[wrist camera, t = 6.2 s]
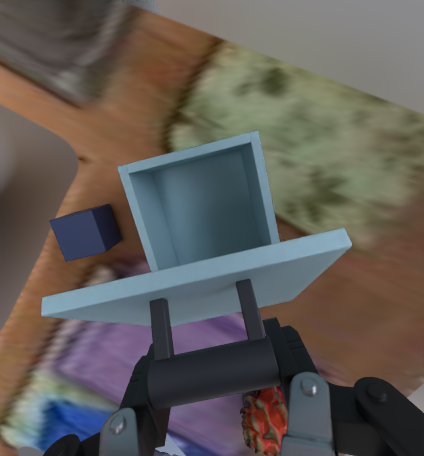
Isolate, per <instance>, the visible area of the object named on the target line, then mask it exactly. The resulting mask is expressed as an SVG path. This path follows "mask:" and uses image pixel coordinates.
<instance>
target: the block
mask: <svg viewBox="0 0 424 456" xmlns="http://www.w3.org/2000/svg"><path fill="white" fill-rule="evenodd" d="M50 224H51V226H52V229H53V231H54V234H55V236H56V239H57V241H58V244H59V246H60V249H61V251H62V254H63V256H64V259H65V261H66V262H67V261H71V260H75V259H79V258H83V257H88V256H92V255H96V254H100V253H104V252H107V251H108V250H109V249H111V248H112V247H113V246H115V245H116V244H117V243H118V242H120V241H121V237H120V234H119V231H118V228H117V225H116V222H115V219H114V216H113V213H112V210H111V208H110V205H109V204H106V205H102V206H99V207H95V208H91V209H87V210H83V211H79V212H75V213H71V214H68V215H65V216H62V217H59V218H56V219H53V220H50Z"/></svg>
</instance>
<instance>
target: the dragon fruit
mask: <svg viewBox="0 0 424 456" xmlns="http://www.w3.org/2000/svg"><path fill="white" fill-rule="evenodd" d="M259 392H260V389H259V390H256V395H255V397H254V398H253V397H252V396H246V397H245V398H244V399H243V401H244V405H245V399H246V400H248V401H249V402H250V403H251V407H249V406H248V407H244V408H242V409H241V411H240V414H241V412H242V413H243V415H242V418H243V421H242V427H243V430H244V431H243V435H244V440H245V445H247V446H248V447H249V448H251V449H253V448H254V447H255V453H257V454H262V453H264V454H265V455H267V456H269V455H270V453H272V454H273V455H274V456H280V447H281V439H282V435H283V434H286V430H287V419H288V412H287V408H286V405H285V402H284V399H283V395H282V392H281V389H280V387H277V386H274V387H271V388H270V389H268V388H264V389H261V394H260V395H259ZM258 395H259V396H258Z"/></svg>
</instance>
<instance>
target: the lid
mask: <svg viewBox="0 0 424 456" xmlns="http://www.w3.org/2000/svg"><path fill="white" fill-rule="evenodd" d="M351 246H352V243H351V241H350V239H349V237H348V234H347V232H346V230H345V228H340V229H336V230H331V231H327V232H323V233H318V234H314V235H310V236H305V237H301V238H297V239H292V240H288V241H284V242H279V243H275V244H271V245H267V246H262V247H258V248H254V249H249V250H245V251H241V252H236V253H232V254H228V255H223V256H219V257H215V258H210V259H206V260H202V261H197V262H193V263H189V264H184V265H180V266H176V267H171V268H167V269H163V270H158V271H154V272H150V273H145V274H141V275H137V276H132V277H128V278H124V279H120V280H115V281H111V282H107V283H102V284H98V285H94V286H89V287H85V288H81V289H76V290H72V291H68V292H63V293H59V294H55V295H50V296H46V297H43V298H42V307H41V316H44V317H55V318H66V319H77V320H88V321H99V322H111V323H122V324H133V325H144V326H151V327H152V338H153V349H154V360H152V361H151V363H150V365H149V369H148V376H147V387H148V395H149V399H150V403H151V405H152V407H153V408H154V409H156V410H158V409H163V408H168V407H173V406H178V405H183V404H188V403H193V402H198V401H203V400H208V399H214V398H219V397H224V396H229V395H234V394H239V393H244V392H249V391H254V390H259V389H264V388H269V387H274V386H280V385H281V378H280V373H279V369H278V365H277V361H276V358H275V354H274V350H273V347H272V344H271V341H270V338H269V336H265V333H264V329H263V325H262V322H261V318H260V314H259V310H258V308H260V307H264V306H269V305H273V304H278V303H283V302H287V301H292V300H293V299H294V298H295V297H296V296H297V295H298V294H300V293H301V292H302V291H303V290H304V289H305V288H306V287H307V286H308V285H309V284H311V283H312V282H313V281H314V280H315V279H316V278H317V277H318V276H319V275H320V274H322V273H323V272H324V271H325V270H326V269H327V268H328V267H329V266H330V265H331V264H333V263H334V262H335V261H336V260H337V259H338V258H339V257H340V256H341V255H342V254H343V253H345V252H346V251H347V250H348V249H349V248H350V247H351ZM241 311H242V314H243V319H244V323H245V327H246V332H247V336H248V340H243V341H238V342H234V343H229V344H224V345H219V346H215V347H210V348H205V349H200V350H196V351H191V352H186V353H181V354H176V355H174V349H173V341H172V332H171V327H172V326H176V325H181V324H186V323H190V322H195V321H200V320H204V319H209V318H213V317H218V316H223V315H227V314H232V313H236V312H241Z"/></svg>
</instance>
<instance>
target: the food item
mask: <svg viewBox="0 0 424 456" xmlns="http://www.w3.org/2000/svg"><path fill="white" fill-rule="evenodd" d="M154 456H170V455H169V454H168V453H165V452H159V451H157V450H155V452H154ZM173 456H177V455H173Z"/></svg>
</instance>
